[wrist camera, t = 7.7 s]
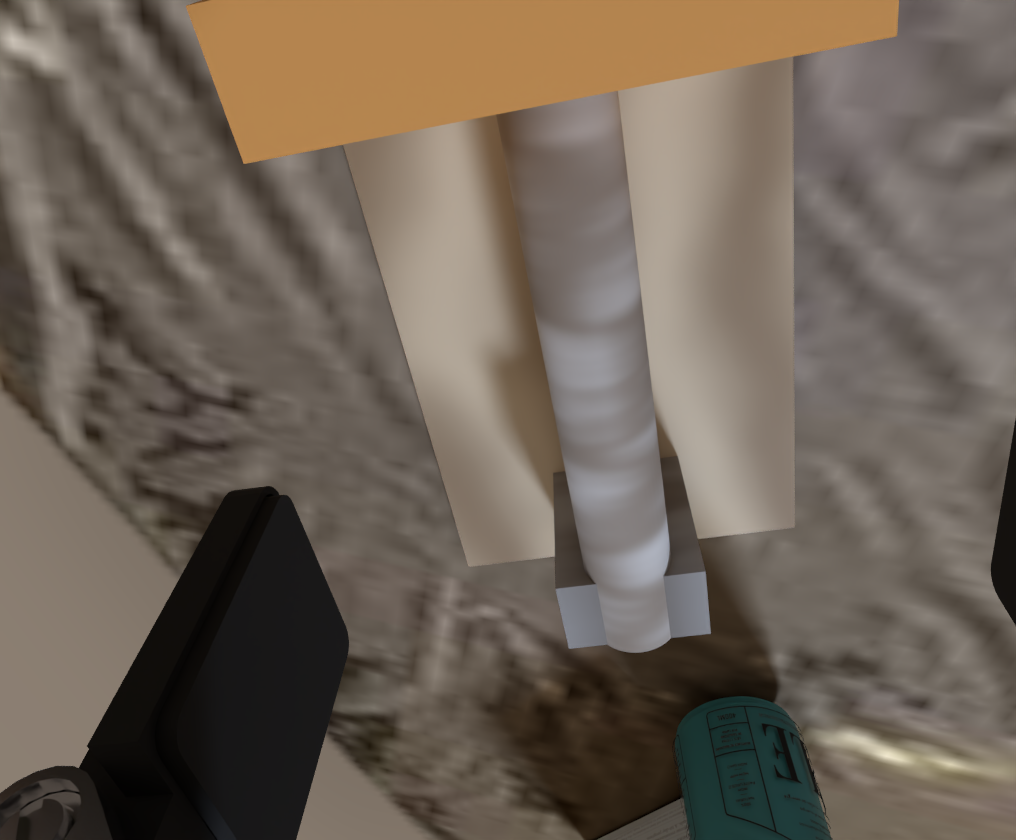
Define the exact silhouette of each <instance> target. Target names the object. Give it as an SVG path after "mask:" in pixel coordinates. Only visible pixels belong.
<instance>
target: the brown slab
mask: <svg viewBox="0 0 1016 840" xmlns="http://www.w3.org/2000/svg"><path fill="white" fill-rule="evenodd" d="M186 8H187V10H188V13H189V16H190V19H191V21H192V24H193V27H194V29H195V32H196V35H197V38H198V40H199V43H200V46H201V48H202V51H203V54H204V57H205V59H206V62H207V65H208V68H209V70H210V73H211V76H212V78H213V81H214V84H215V87H216V89H217V92H218V95H219V97H220V100H221V103H222V106H223V108H224V111H225V114H226V116H227V119H228V122H229V125H230V127H231V130H232V133H233V136H234V138H235V141H236V144H237V146H238V149H239V152H240V155H241V157H242V160H243V163H244V164H246V163H251V162H256V161H261V160H267V159H272V158H277V157H282V156H287V155H292V154H297V153H302V152H307V151H313V150H318V149H323V148H328V147H333V146H338V145H343V144H348V143H353V142H359V141H364V140H369V139H374V138H379V137H384V136H389V135H394V134H399V133H405V132H410V131H415V130H420V129H425V128H430V127H435V126H440V125H445V124H450V123H456V122H461V121H466V120H471V119H476V118H481V117H486V116H491V115H496V114H502V113H507V112H512V111H517V110H522V109H527V108H532V107H537V106H542V105H548V104H553V103H558V102H563V101H568V100H573V99H578V98H583V97H588V96H594V95H599V94H604V93H609V92H614V91H619V90H624V89H629V88H634V87H640V86H645V85H650V84H655V83H660V82H665V81H670V80H675V79H680V78H686V77H691V76H696V75H701V74H706V73H711V72H716V71H721V70H726V69H732V68H737V67H742V66H747V65H752V64H757V63H762V62H767V61H772V60H778V59H783V58H788V57H793V56H798V55H803V54H808V53H813V52H818V51H824V50H829V49H834V48H839V47H844V46H849V45H854V44H859V43H864V42H870V41H875V40H880V39H885V38H890V37H895V36H897V25H898V8H899V0H202V1H199V2H196V3H193V4H190V5H187V6H186Z"/></svg>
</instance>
